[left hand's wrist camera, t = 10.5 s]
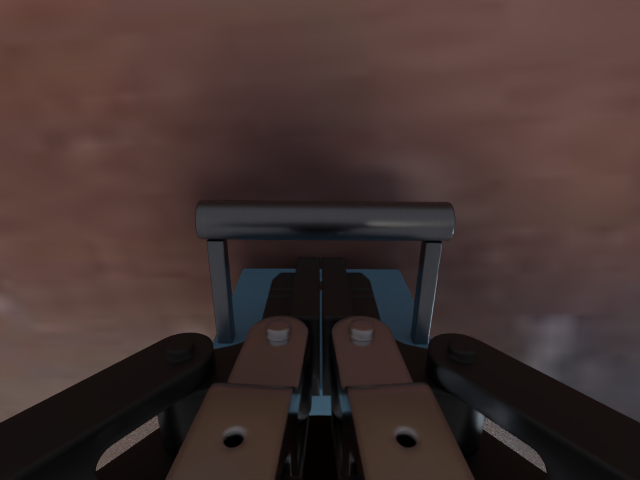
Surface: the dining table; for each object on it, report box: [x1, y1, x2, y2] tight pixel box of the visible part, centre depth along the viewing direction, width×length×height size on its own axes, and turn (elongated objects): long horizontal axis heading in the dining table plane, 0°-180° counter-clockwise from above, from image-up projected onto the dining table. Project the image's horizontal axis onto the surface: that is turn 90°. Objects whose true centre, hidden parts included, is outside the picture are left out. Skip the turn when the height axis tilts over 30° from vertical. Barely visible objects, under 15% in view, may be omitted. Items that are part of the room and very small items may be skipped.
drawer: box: [195, 200, 455, 480], centre depth 19 cm, size 24×9×9 cm, turn 179°
